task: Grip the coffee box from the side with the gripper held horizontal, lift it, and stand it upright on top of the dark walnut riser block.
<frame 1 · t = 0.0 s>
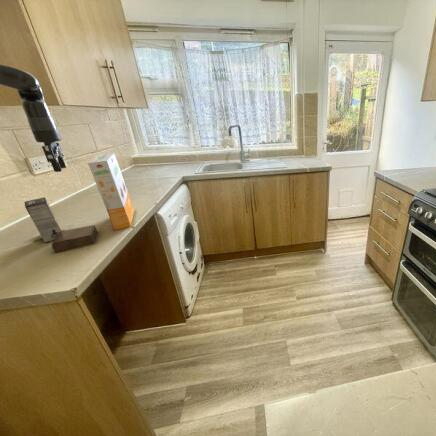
hand: (60, 169, 103), 26 cm above the countertop, tool pointing down, fingers open, 8 cm apart
cereal box: (125, 220, 118), on the countertop
walnut riser: (78, 242, 99), on the countertop
coffee box: (53, 237, 104), on the countertop
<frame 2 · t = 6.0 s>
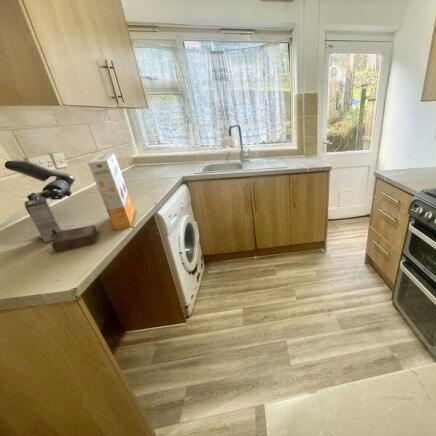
hand: (46, 199, 106), 14 cm above the countertop, tool horizontal, fingers open, 8 cm apart
nothing on the countertop moved.
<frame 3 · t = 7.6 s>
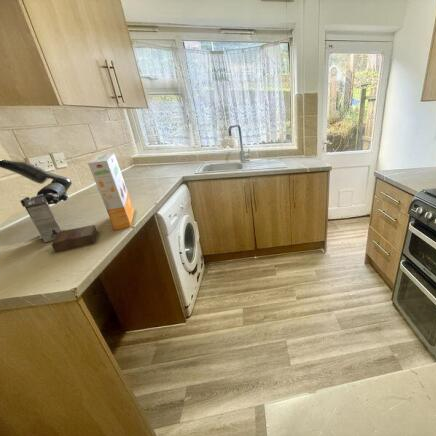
hand: (40, 203, 100), 14 cm above the countertop, tool horizontal, fingers open, 8 cm apart
coffee box: (53, 236, 104), on the countertop, touching gripper
everything else where it was.
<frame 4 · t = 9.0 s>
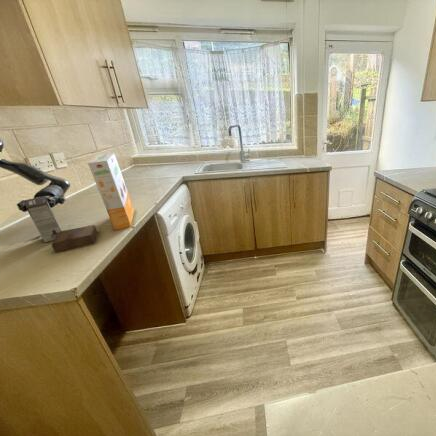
hand: (37, 207, 96), 14 cm above the countertop, tool horizontal, fingers closed on coffee box, 7 cm apart
coffee box: (53, 235, 104), on the countertop, touching gripper
everything else where it was.
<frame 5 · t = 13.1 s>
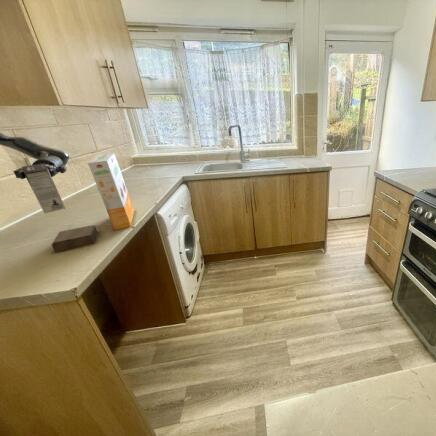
hand: (36, 174, 89), 28 cm above the countertop, tool horizontal, fingers closed on coffee box, 7 cm apart
coffee box: (53, 207, 96), point 14 cm above the countertop, touching gripper
everything else where it was.
when the fingers open (18 cm above the countertop, at t = 17.5 s): coffee box stays where it is, resting on walnut riser.
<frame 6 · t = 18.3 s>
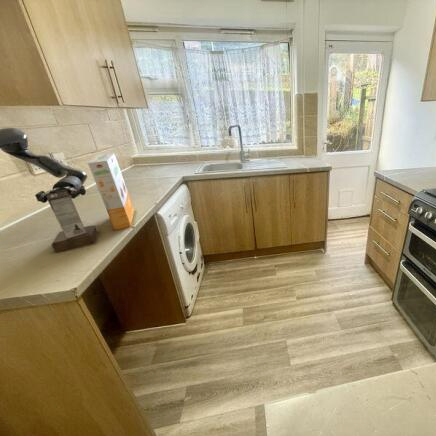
hand: (57, 198, 90), 19 cm above the countertop, tool horizontal, fingers open, 8 cm apart
coffee box: (75, 233, 98), point 4 cm above the countertop, touching gripper, walnut riser
everything else where it was.
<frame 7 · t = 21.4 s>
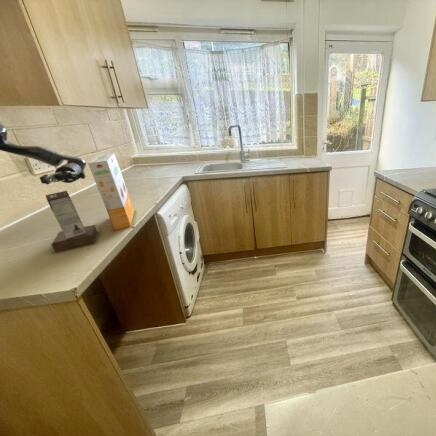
hand: (60, 180, 99), 23 cm above the countertop, tool horizontal, fingers open, 8 cm apart
coffee box: (75, 233, 98), point 4 cm above the countertop, touching walnut riser
everything else where it was.
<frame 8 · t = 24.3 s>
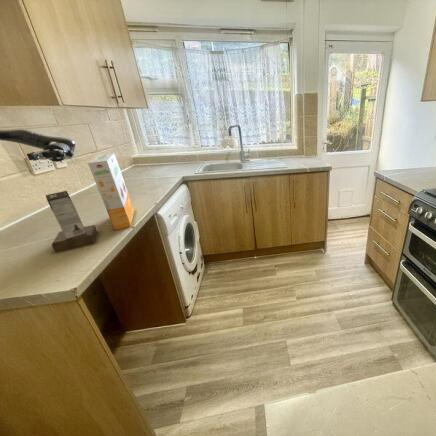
hand: (47, 156, 99), 32 cm above the countertop, tool horizontal, fingers open, 8 cm apart
nothing on the countertop moved.
at the end: coffee box inside the target area on the walnut riser (0.4 cm from its centre), point 3.9 cm above the walnut riser's base; coffee box tilted 0°; the gripper is holding nothing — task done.
